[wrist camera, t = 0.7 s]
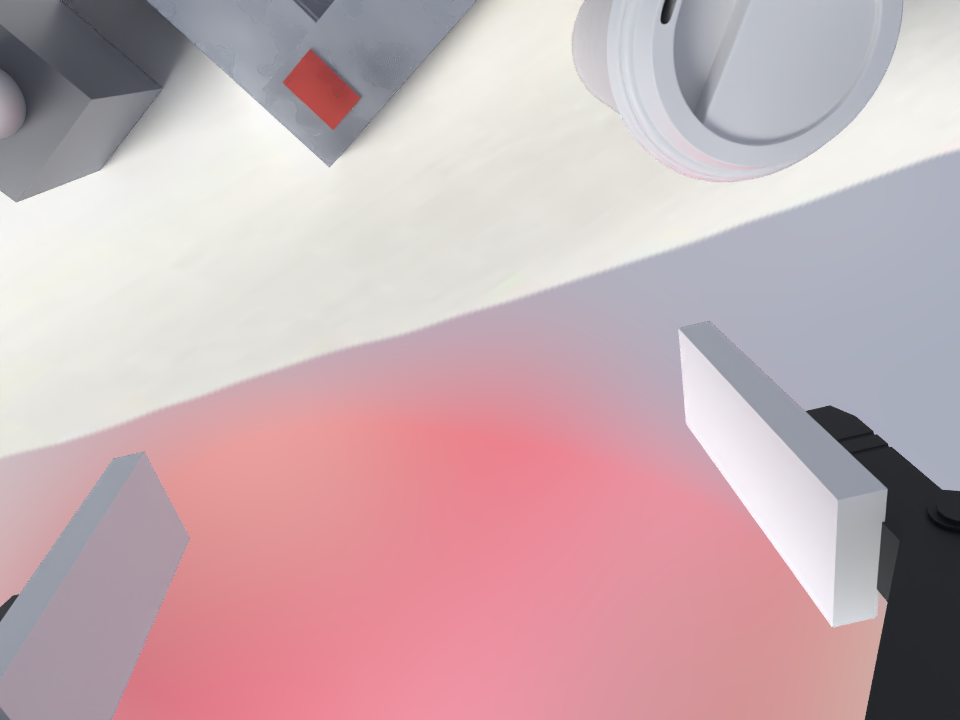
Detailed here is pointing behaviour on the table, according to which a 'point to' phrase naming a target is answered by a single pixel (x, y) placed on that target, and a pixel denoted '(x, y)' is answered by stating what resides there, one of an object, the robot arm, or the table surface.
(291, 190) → the table surface
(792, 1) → the coffee cup
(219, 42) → the socket plate
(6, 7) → the plug
